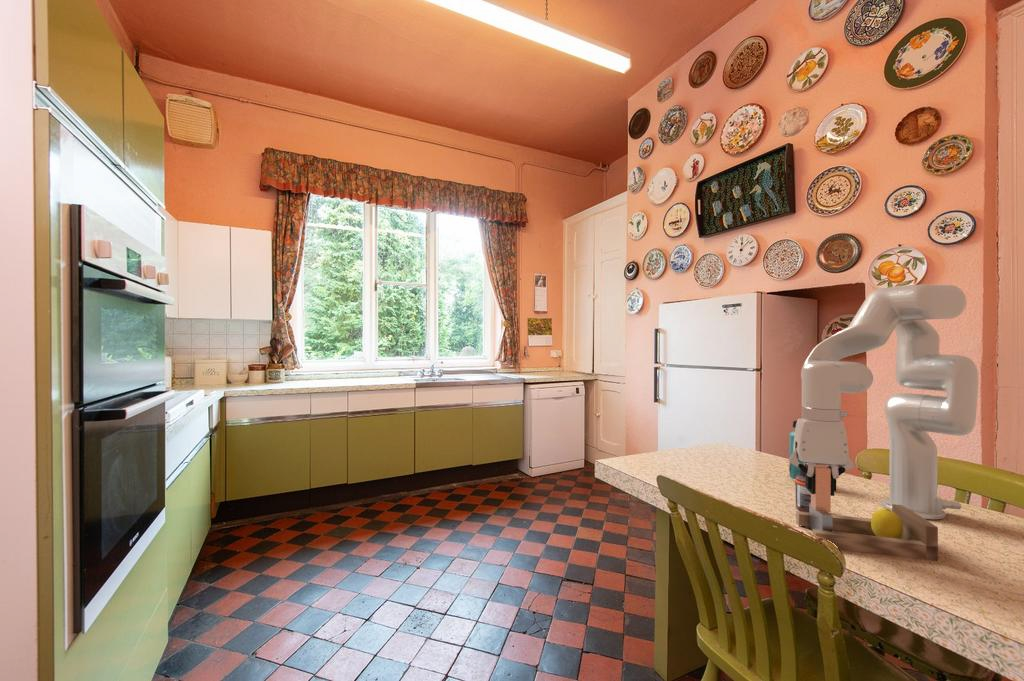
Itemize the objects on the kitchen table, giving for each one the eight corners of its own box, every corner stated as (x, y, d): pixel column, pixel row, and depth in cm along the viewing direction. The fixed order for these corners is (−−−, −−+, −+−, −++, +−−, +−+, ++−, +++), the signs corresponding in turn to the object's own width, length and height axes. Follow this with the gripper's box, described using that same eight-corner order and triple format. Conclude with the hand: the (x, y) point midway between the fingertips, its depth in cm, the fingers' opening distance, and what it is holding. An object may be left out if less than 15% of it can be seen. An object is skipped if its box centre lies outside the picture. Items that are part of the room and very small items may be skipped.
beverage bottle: (817, 486, 138) (817, 422, 138) (796, 486, 138) (796, 422, 138) (804, 479, 145) (804, 419, 145) (784, 479, 145) (784, 419, 145)
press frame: (902, 534, 103) (902, 504, 104) (937, 560, 91) (937, 527, 91) (796, 523, 110) (796, 495, 110) (815, 546, 97) (815, 515, 97)
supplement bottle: (801, 504, 122) (801, 464, 122) (825, 511, 117) (826, 469, 117) (791, 509, 119) (791, 467, 119) (815, 516, 114) (816, 473, 114)
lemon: (909, 549, 96) (909, 513, 96) (884, 548, 96) (884, 512, 96) (888, 537, 102) (888, 503, 102) (864, 537, 102) (864, 503, 102)
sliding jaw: (821, 528, 106) (821, 462, 106) (835, 542, 98) (835, 471, 98) (807, 526, 107) (807, 461, 107) (819, 541, 99) (819, 470, 99)
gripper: (854, 414, 104) (854, 491, 104) (776, 411, 109) (776, 484, 109) (870, 419, 97) (870, 502, 97) (786, 415, 101) (786, 494, 101)
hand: (820, 492), depth 103 cm, fingers closed on sliding jaw, 3 cm apart
